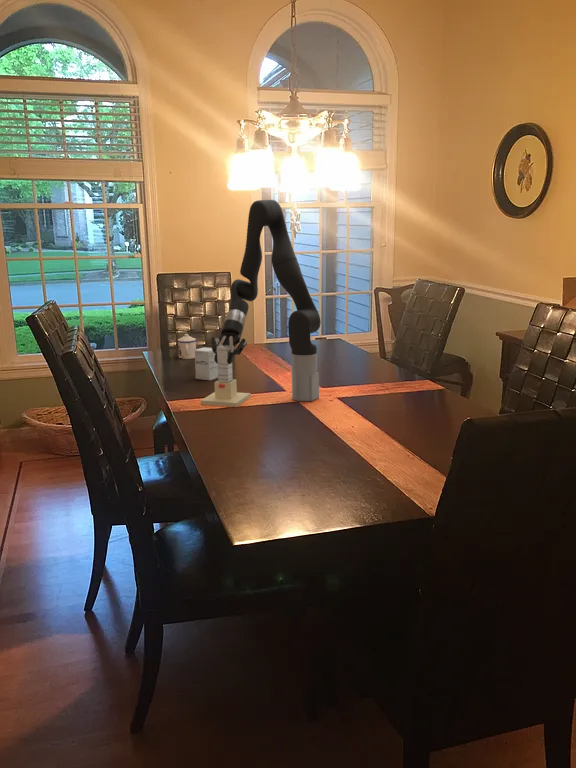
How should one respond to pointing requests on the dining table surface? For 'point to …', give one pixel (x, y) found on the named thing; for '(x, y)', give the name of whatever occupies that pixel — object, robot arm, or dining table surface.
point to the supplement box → (205, 364)
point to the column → (224, 364)
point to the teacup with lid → (187, 347)
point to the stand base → (226, 395)
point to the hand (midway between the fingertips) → (222, 362)
